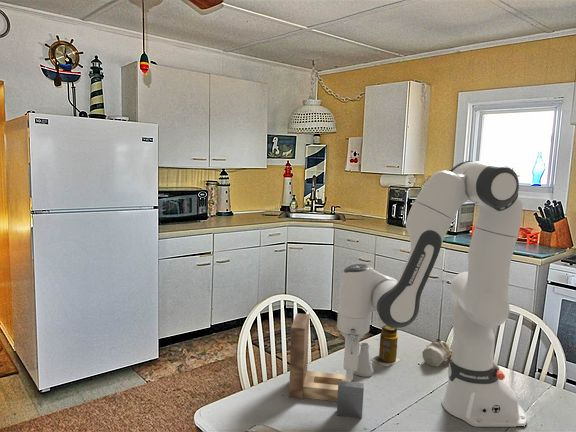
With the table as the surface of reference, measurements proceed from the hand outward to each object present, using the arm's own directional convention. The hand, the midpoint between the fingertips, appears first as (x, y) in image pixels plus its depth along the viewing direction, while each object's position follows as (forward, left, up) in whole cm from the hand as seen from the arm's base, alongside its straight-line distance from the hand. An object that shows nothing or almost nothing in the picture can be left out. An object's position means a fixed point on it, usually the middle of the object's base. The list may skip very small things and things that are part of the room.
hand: (349, 370), depth 128 cm
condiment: (-13, -37, -13) cm, 41 cm away
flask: (-5, -26, -13) cm, 30 cm away
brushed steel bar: (-1, 0, -13) cm, 13 cm away
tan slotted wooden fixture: (+8, -11, -13) cm, 19 cm away
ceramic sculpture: (-31, -40, -13) cm, 52 cm away
